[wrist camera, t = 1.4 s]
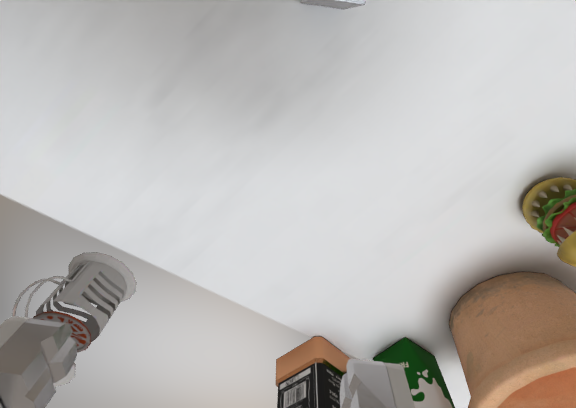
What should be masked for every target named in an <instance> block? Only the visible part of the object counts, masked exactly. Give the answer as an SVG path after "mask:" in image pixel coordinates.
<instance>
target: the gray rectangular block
mask: <svg viewBox="0 0 576 408" xmlns="http://www.w3.org/2000/svg"><path fill="white" fill-rule="evenodd" d="M365 2H366V0H301V3H304V4H311V5H317V6H324V7H331V8H337V9H348V8H352V7H356V6H361V5H365Z"/></svg>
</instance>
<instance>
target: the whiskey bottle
mask: <svg viewBox="0 0 576 408" xmlns="http://www.w3.org/2000/svg"><path fill="white" fill-rule="evenodd" d="M349 359H350V358H349V357H348V356H346V355H345V354H344V353H342V352H341V351H340V350H339V349H337V348H336V347H335V346H333V345H332V344H331V343H329V342H328V341H327V340H326V339H324V338H323V337H313V338H311V339H310V340H308V341H307V342H305V343H303V344H301V345H300V346H298V347H296V348H295V349H293V350H292V351H290V352H288V353H287V354H285V355H283V356H281V357H280V358H278V359H277V360H276V386H277V387H278V404H277V408H340V385H341V380H342V377H343V375H344V374H346V373H347V367H346V365H347V363H348V360H349Z"/></svg>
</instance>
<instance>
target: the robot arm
mask: <svg viewBox="0 0 576 408" xmlns="http://www.w3.org/2000/svg"><path fill="white" fill-rule="evenodd" d="M72 332H73V331H72V328H71V325H70V324H67V323H60V322H53V321H46V320H39V319H33V318H26V317H18V316H12V317H11V318H9V319H7V320H5V321H4V322H3V323H2V324H1V325H0V408H45V407H46V405H47V404H48V403H49V401H50V400H51V398H52V396H53V395H54V394H55V392H56V382H58V381H59V380H61V379H62V378H64V377H65V376H67V374H68V373H69V371H70V369H71V368H72V366H73V364H74V361H75V358H76V356H77V345H76V342H75V341H74V340H73V339H72V338H71V337H70V335H71V333H72ZM346 367H347V373H346V374H344V375H343V377H342V380H341V385H340V408H415V406H414V402H413V399H412V395H411V392H410V389H409V385H408V382H407V378H406V375H405V371H404V368H403V367H402V366H401V365H400V364H392V363H383V362H379V361H370V360H361V359H351V358H350V359H349V360H348V363H347V365H346Z"/></svg>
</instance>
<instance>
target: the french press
mask: <svg viewBox="0 0 576 408" xmlns="http://www.w3.org/2000/svg"><path fill="white" fill-rule="evenodd" d="M55 278H61V279H63V281H62V282H61V283H60V282H57V281H55V280H52V279H55ZM42 281H43V282H42ZM47 281H51V282H54V283H56V284H60V285H59V286H58V287H57V288H56V289H55V290H54V292H53V293H52V294H51V295H50V296H49V297H48V298H47V299H46V301H45V302H44V303H43V304H42V305H41V306H40V307H39V309H38V310H37V311H36V316H34V317H33V319H39V320H46V321H53V322H60V323H67V324H70V325H71V328H72V331H73V332H72V333H71V335H70V337H71V338H72V339H73V340H74V341H75V342H76V345H77V352H81V351H83V350H86V349H87V348H88V346H89V345H90V344H91V342H92V341H94V340H95V339H96V338H97V337H98V336H99V334H100V333H101V331H102V330H103V328H104V327H105V325H106V324H107V322H108V320H109V318H110V317H111V316H112V314H113V312H114V311H115V310H116V308H117V307H118V305H119V303H120V302H123V301H125V300H128V299H130V298H131V296H132V295H133V294H134V293H135V291H136V280H135V278H134V275H133V273H132V272H131V271H130V270H129V269H128V267H127V266H126V265H125V264H124V263H122V262H121V261H119V260H117V259H115V258H114V257H112V256H109V255H106V254H102V253H98V252H92V253H82V254H80V255H78V256H76V257H74V258H73V260H72V261H71V263H70V264H69V275H68V276H67V277H66V278H64V277H60V276H54V277H51V278H48V279H41V280H38V281H36V282H34V283H32V284H31V285H29V286H28V287H27V288H26V289H25V290H24V291H23V292H22V293H21V294H20V295H19V297H18V298H17V300H16V302H15V305H14V308H13V313H12V316H15V313H16V308H17V305H18V302H19V300H20V298H21V296H22V295H23V294H24V293H25V292H26V291H27V290H28V289H29V288H30V287H32V286H33V285H35V284H37V283H39V282H41V283H40V284H39V285H38V286H37V287H36V288H35V290H34V291H33V292H32V293H31V294H30V297H29V299H28V302H27V305H26V309H25V317H26V318H28V317H27V316H28V306H29V303H30V300H31V298H32V296H33V294H34V293H35V292H36V291H37V290H38V288H39V287H40V286H42V285H43V284H44V283H45V282H47ZM64 284H65V288H64V289H63V288H62V287H63V285H64ZM59 289H60V290H59ZM58 290H59V295H58V296H57V291H58ZM52 297H53V305H54V306H55V307H56V308H57V309H58V310H59V311H64V312H67V313H72V314H76V315H79V316H82V317H84V318H87V319H88V320H87V322H84V321H81V320H79V319H76V318H75V317H73V316H70V315H68V314H65V313H60V312H56V311H55V312H54V311H53V310H51V308H50V300H51V298H52ZM57 301H62V302H64V303H65V304H69V305H73V306H77V307H80V308H82V309H84V310H86V311H87V312H89V313H90V314H91V315H89V314H87V313H84V312H81V311H78V310H74V309H70V308H66V307H62V306H61V305H60V304H59V303H58V302H57ZM89 302H90V303H89ZM45 303H47V305H46V306H47V312H43V308H44V305H45ZM91 303H93V304H95V305H97V307H96V308H95V307H94V306H93V305H91ZM75 365H76V364H75V363H74V364H73V366H72V368H71V369H70V371H69V373H68V374H67V376H65V377H64V378H62V379H61V380H59V381H58V382H56V386H61V385H64V384H67V383H70V381H71V380H72V379H73V378H74V377H75Z"/></svg>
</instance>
